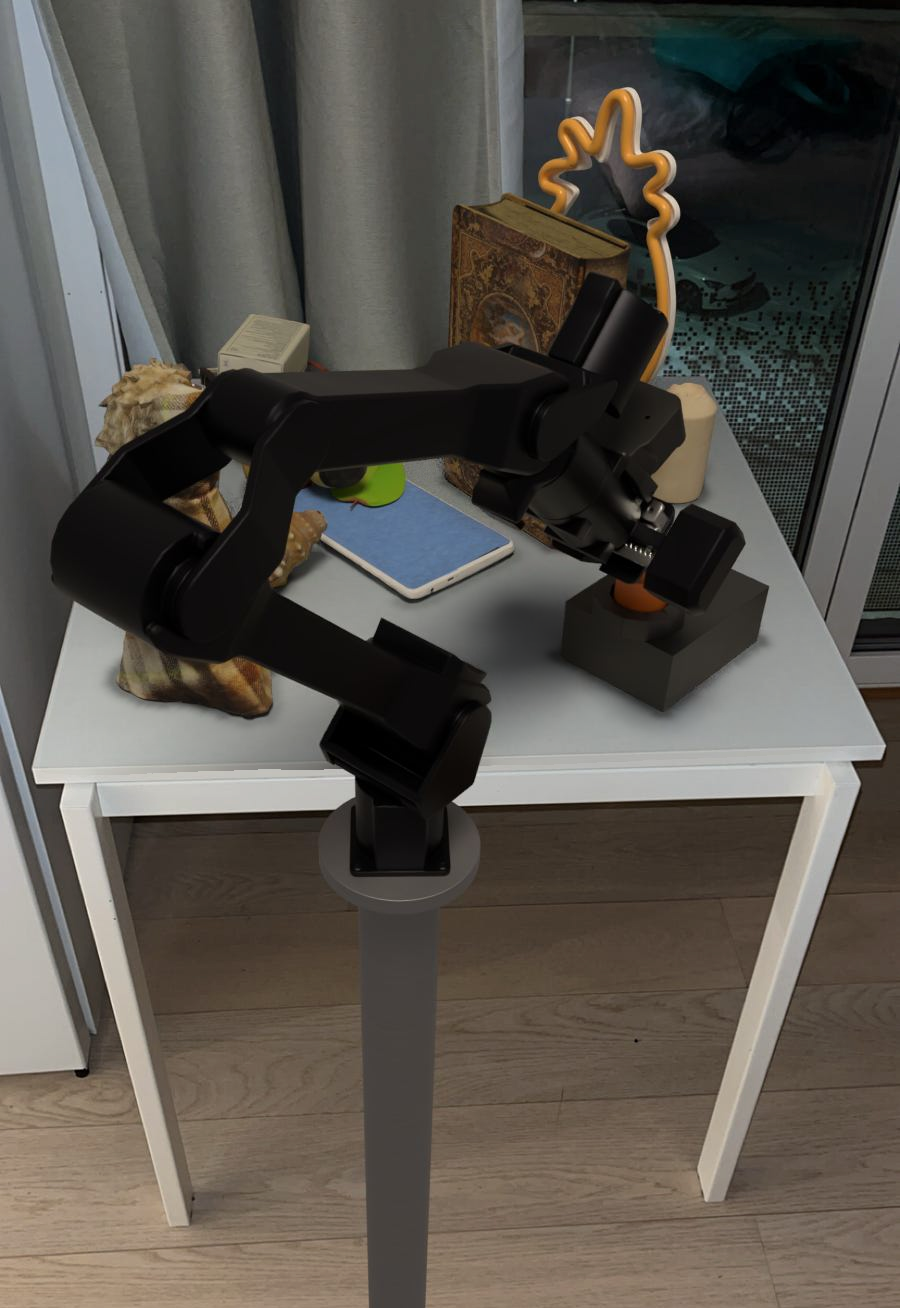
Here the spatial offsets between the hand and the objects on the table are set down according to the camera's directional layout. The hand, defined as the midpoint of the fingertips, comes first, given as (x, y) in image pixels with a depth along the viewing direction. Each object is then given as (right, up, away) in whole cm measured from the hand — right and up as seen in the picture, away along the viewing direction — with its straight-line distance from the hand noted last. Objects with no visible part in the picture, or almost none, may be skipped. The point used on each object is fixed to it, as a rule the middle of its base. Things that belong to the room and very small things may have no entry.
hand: (645, 561), depth 93 cm
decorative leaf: (-21, +13, +21) cm, 32 cm away
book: (-8, +10, +25) cm, 28 cm away
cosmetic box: (-31, +29, +34) cm, 54 cm away
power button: (0, -2, +2) cm, 3 cm away
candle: (+7, +12, +28) cm, 31 cm away
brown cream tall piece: (-34, -8, +5) cm, 35 cm away
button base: (+2, -5, +9) cm, 11 cm away
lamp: (-1, +18, +34) cm, 38 cm away
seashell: (-30, +1, +15) cm, 34 cm away
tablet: (-19, +6, +20) cm, 29 cm away
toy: (-30, +16, +23) cm, 41 cm away
